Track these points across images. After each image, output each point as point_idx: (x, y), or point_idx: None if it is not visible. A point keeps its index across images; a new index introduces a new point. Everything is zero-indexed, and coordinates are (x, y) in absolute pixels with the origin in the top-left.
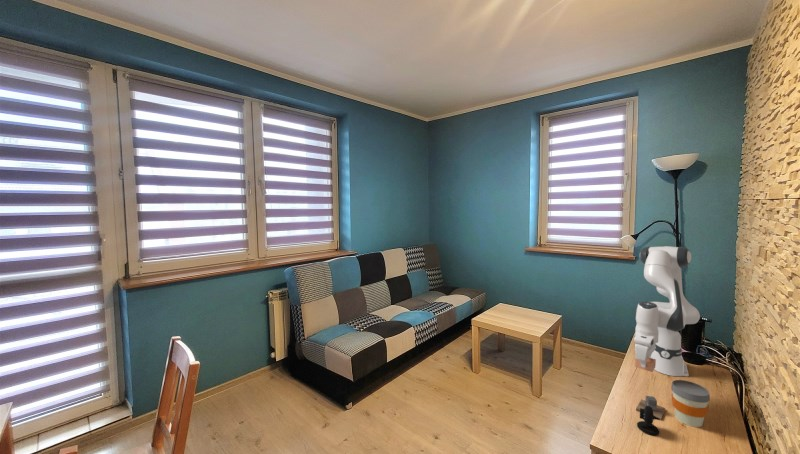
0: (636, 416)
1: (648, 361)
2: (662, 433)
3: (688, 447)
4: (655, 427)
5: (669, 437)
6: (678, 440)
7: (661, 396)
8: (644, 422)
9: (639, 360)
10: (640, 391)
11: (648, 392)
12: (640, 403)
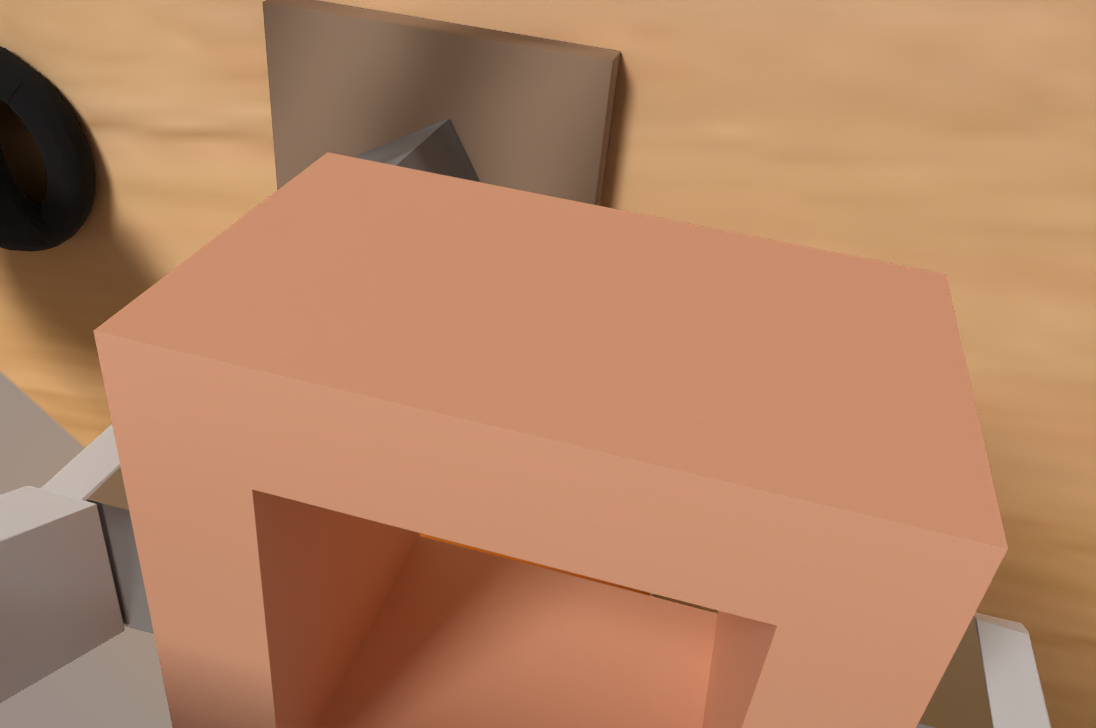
0: (142, 11)
1: (724, 695)
2: (71, 268)
3: (67, 431)
4: (15, 227)
5: (66, 318)
6: (92, 379)
7: (1004, 324)
8: (21, 118)
9: (134, 477)
10: (1015, 17)
11: (1051, 148)
12: (456, 53)
